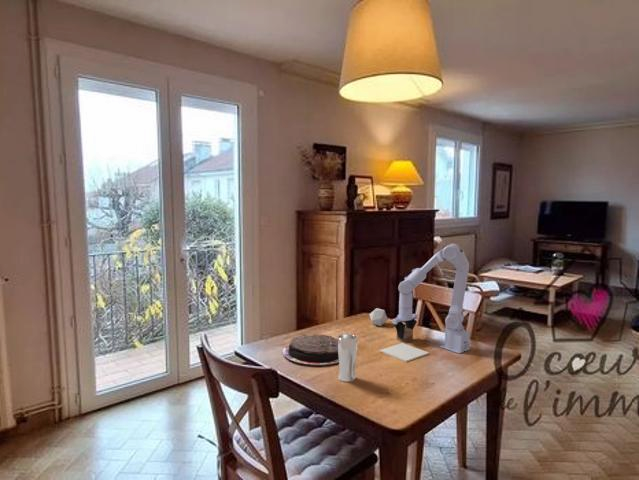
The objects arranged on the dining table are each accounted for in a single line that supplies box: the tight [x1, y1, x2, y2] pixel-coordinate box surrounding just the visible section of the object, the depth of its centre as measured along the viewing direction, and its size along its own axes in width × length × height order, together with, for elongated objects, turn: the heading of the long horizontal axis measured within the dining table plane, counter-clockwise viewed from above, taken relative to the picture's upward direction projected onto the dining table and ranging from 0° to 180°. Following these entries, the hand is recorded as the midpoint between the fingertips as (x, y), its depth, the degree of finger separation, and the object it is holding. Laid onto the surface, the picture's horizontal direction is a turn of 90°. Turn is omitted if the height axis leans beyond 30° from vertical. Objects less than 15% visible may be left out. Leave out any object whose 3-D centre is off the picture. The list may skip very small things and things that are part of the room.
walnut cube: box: [396, 326, 414, 344], centre depth 187 cm, size 5×5×5 cm
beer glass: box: [337, 333, 358, 383], centre depth 146 cm, size 7×7×15 cm
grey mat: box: [379, 342, 430, 363], centre depth 172 cm, size 14×14×1 cm
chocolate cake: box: [282, 333, 339, 368], centre depth 170 cm, size 28×28×7 cm
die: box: [369, 307, 389, 327], centre depth 209 cm, size 8×9×10 cm
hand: (404, 336), depth 187 cm, fingers closed on walnut cube, 5 cm apart
